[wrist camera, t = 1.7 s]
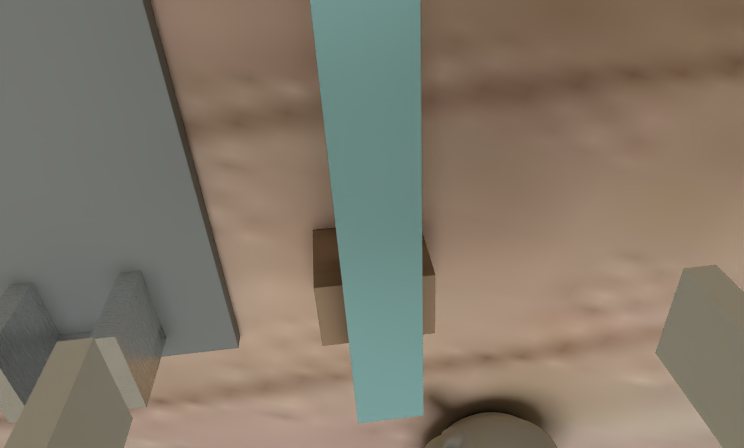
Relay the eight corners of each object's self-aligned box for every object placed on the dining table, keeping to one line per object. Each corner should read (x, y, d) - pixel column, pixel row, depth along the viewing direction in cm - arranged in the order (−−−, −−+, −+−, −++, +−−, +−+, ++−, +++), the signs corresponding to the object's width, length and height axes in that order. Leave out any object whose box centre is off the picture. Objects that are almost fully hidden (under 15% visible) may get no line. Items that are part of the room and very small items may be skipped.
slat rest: (412, -237, 20) (440, -260, 16) (418, 274, 33) (434, 333, 29) (247, -227, 20) (231, -249, 16) (320, 284, 33) (322, 345, 29)
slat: (389, -258, 16) (418, -297, 12) (406, 336, 29) (423, 415, 25) (284, -252, 16) (276, -289, 12) (350, 342, 29) (358, 423, 25)
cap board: (53, -357, 18) (40, -368, 17) (240, 336, 35) (238, 347, 34) (-451, -333, 17) (-490, -343, 16) (-3, 363, 34) (-11, 376, 33)
